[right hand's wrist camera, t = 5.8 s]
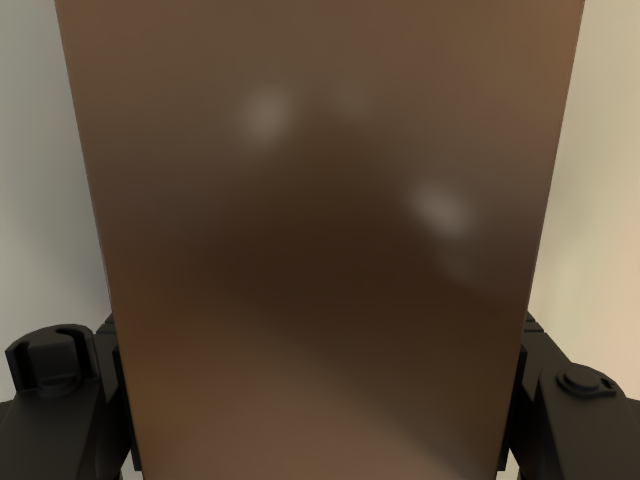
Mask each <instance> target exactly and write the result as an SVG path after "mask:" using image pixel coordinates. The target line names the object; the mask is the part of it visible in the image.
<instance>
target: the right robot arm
mask: <svg viewBox="0 0 640 480" xmlns="http://www.w3.org/2000/svg"><path fill="white" fill-rule="evenodd" d="M5 354H6V358H7V361H8V365H9V368H10V371H11V375H12V378H13V382H14V385H15V388H16V392H17V393H16V395H15V397H14V399H13V400H10V401H6V402H1V403H0V480H123V477H122V472H121V467H122V465H123V463H124V461H125V459H126V457H127V455H128V453H129V451H130V449H131V454H132V459H133V465H134V470H135V471H142V469H141V464H140V459H139V453H138V448H137V442H136V437H135V432H134V426H133V421H132V416H131V410H130V405H129V399H128V394H127V389H126V383H125V378H124V372H123V367H122V362H121V356H120V351H119V346H118V340H117V335H116V329H115V324H114V319H113V313H111V315H110V316H109V317H108V318H107V319H106V321H105V324H102V325H101V327H100V328H99V329H98V330H97V331H96V334H94V335H93V332H92V331H91V330H90V329H89V328H87V327H86V326H82V325H77V324H60V325H55V326H50V327H45V328H42V329H39V330H36V331H34V332H31V333H29V334H26V335H24V336H23V337H21V338H20V339H18V340H16V341H15V342H13V343H12V344H11V345H10V346H9V347H8V348H7V349H6V350H5ZM509 447H510V449H511V451H512V453H513V455H514V457H515V459H516V461H517V463H518V465H519V472H518V477H517V480H640V401H639V400H634V399H630V398H627V397H626V396H625V394H624V392H623V391H622V389H621V388H620V387H619V386H618V384H617V383H616V382H615V381H613V380H612V379H611V378H609V377H608V376H606V375H605V374H603V373H601V372H599V371H597V370H595V369H592V368H590V367H588V366H584V365H580V364H576V363H572V362H571V361H570V360H569V359H568V358H567V357H566V355H565V354H564V353H563V352H562V351H561V350H560V348H559V347H558V346H557V345H556V344H555V342H554V341H553V340H552V339H551V338H550V337H549V335H548V334H547V333H544V330H543V328H542V327H541V326H540V325H539V324H538V322H535V319H534V318H533V317H532V315H531V314H530V313H529V312H528V311H527V315H526V320H525V325H524V331H523V336H522V341H521V347H520V352H519V358H518V363H517V368H516V374H515V379H514V384H513V390H512V395H511V401H510V406H509V411H508V417H507V422H506V427H505V433H504V438H503V443H502V449H501V454H500V460H499V465H498V470H497V471H505V468H506V463H507V458H508V453H509Z"/></svg>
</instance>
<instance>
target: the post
mask: <svg viewBox="0 0 640 480" xmlns="http://www.w3.org/2000/svg"><path fill="white" fill-rule="evenodd" d="M54 1H55V7H56V12H57V17H58V23H59V28H60V33H61V39H62V44H63V50H64V55H65V60H66V66H67V71H68V76H69V82H70V87H71V93H72V98H73V103H74V109H75V114H76V120H77V125H78V130H79V136H80V141H81V146H82V152H83V157H84V163H85V168H86V173H87V179H88V184H89V189H90V195H91V200H92V206H93V211H94V216H95V222H96V227H97V233H98V238H99V243H100V249H101V254H102V259H103V265H104V270H105V276H106V281H107V286H108V292H109V297H110V303H111V308H112V313H113V319H114V324H115V329H116V335H117V340H118V346H119V351H120V356H121V362H122V367H123V372H124V378H125V383H126V389H127V394H128V399H129V405H130V410H131V416H132V421H133V426H134V432H135V437H136V442H137V448H138V453H139V459H140V464H141V469H142V475H143V480H496V476H497V470H498V465H499V460H500V454H501V449H502V443H503V438H504V433H505V427H506V422H507V417H508V411H509V406H510V401H511V395H512V390H513V384H514V379H515V374H516V368H517V363H518V358H519V352H520V347H521V341H522V336H523V331H524V325H525V320H526V315H527V309H528V304H529V298H530V293H531V288H532V282H533V277H534V272H535V266H536V261H537V255H538V250H539V245H540V239H541V234H542V229H543V223H544V218H545V212H546V207H547V202H548V196H549V191H550V186H551V180H552V175H553V169H554V164H555V159H556V153H557V148H558V143H559V137H560V132H561V126H562V121H563V116H564V110H565V105H566V100H567V94H568V89H569V83H570V78H571V73H572V67H573V62H574V57H575V51H576V46H577V41H578V35H579V30H580V24H581V19H582V14H583V8H584V3H585V0H54Z"/></svg>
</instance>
